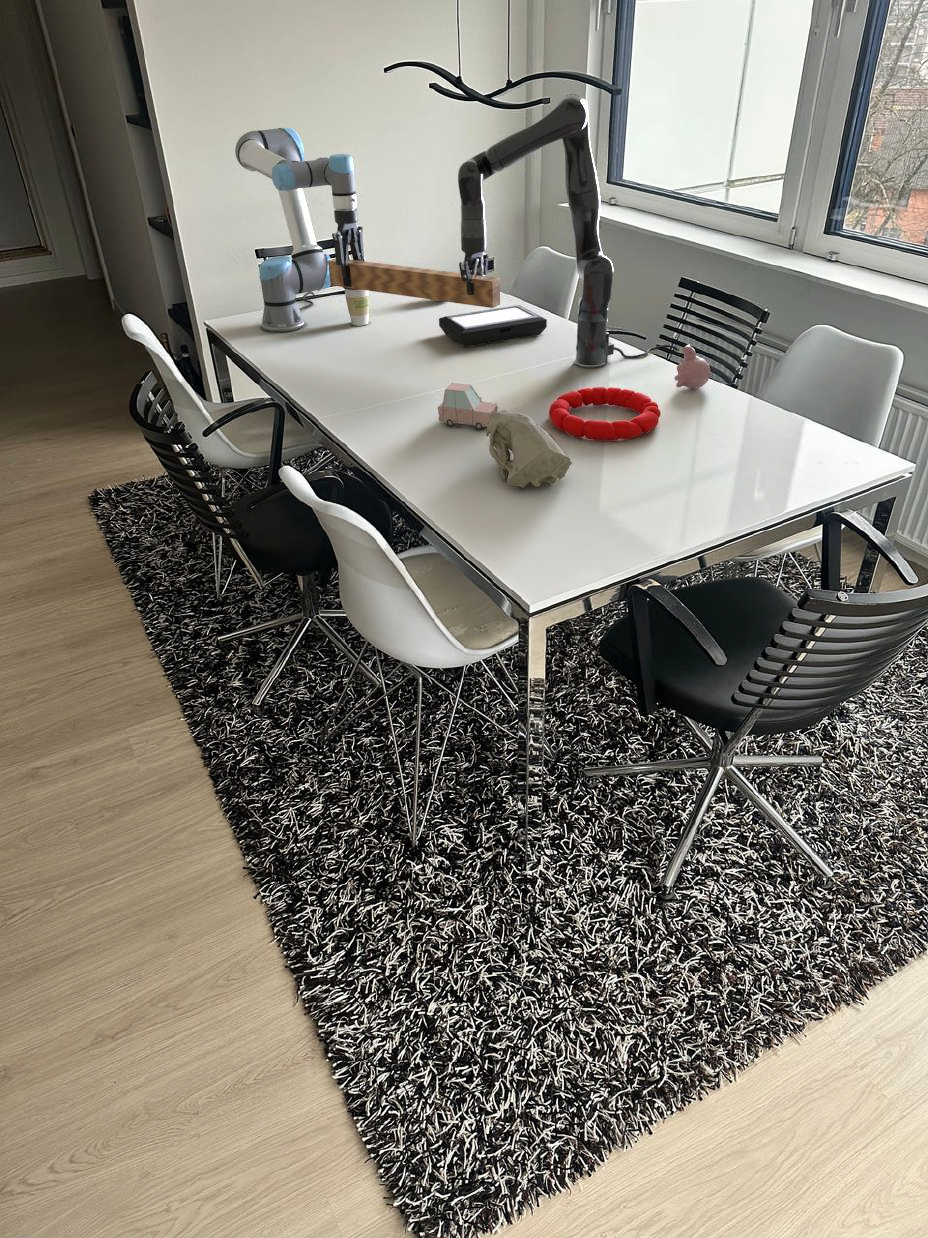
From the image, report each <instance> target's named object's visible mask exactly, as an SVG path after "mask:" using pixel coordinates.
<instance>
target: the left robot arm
mask: <svg viewBox="0 0 928 1238" xmlns="http://www.w3.org/2000/svg"><path fill="white" fill-rule="evenodd" d="M234 153H235V157H236V160H237V162H238V163H239V165H240V166H241V167H243V168H244V169H245V170H247V171H249V172H257V173H259V174H262V175H263V176H265V177H267V178H269V179H271V180H272V184H273V186H274V187H275V189H276V190H277V191H278V194H279V199H280V202H281V206H282V210H283V214H284V218H285V222H286V226H287V229H288V233H289V236H290V237H289V238H290V241H291V245H292V249H293V250H292V253H291V254H290V256H288V255H280V256H273V257H270V258H266V259H265V260H263V261H262V262H261V263H260V265H259V266H258V270H259V271H258V273H259V281H260V287H261V292H262V299H263V313H262V319H261V326H262V330H264V331H265V332H271V333H286V332H293V331H296V330H297V331H298V330H300V329H302V328H304V326H305V319H304V317H303V314H302V312H301V311H303V310H305V309H307V308H310V307H312V306H313V305H314V302H313V301H312V300H309V299H306V297H307V296H308V295H312V296H315V293H314V292H316V291H317V292H320V291H322V290H326V289H328V288H330V287H331V283H330V275H329V266H328V261H329V260H332V259H331V257H330V255H329V254H327V253H325V252H324V249H323V248H322V246H319V244H318V243H317V239H316V235H315V232H314V227H313V224H312V219H311V215H310V212H309V206H308V204H307V199H306V196H305V192H304V189H307V188H308V189H309V188H315V187H322V186H323V187H324V186H331V195H332V196H331V197H332V208H333V209H334V210H333V216H334V222H335V223H336V224H337V228H336V230H337V231H335V233H332V234H331V238H332V240H333V246H334V256H335V258H336V264H337V265H339V266H341V269H342V276H343V283H344V286H347V287H351V286H352V285H351V275H350V266H348V259H349V249H350V253H351V257H352V260H357V261H364V260H363V259H365V251H364V238H363V237H364V236H363V231H364V227H363V226H361V225H360V226H358V224H357V223H358V221H359V213H358V209H357V208H358V203H357V192H356V189H357V188H356V176H355V166H354V158H353V157H352V155H351V154H347V153H337V154H335V153H334V154H331V155H330V156H329V157H318V158H316V159H312V160H305V154H304V153H305V148H304V145H303V142H302V140H301V137H300V136H299V134H298V133H297V132H296V130H294V129H293V128H291V127H277V128H270V129H262V130H261V129H259V130H251V131H248V132H246V133H244V134H243V135H241V136H240V137H239V139H238V140H237V142H236V144H235V148H234ZM300 294H303V296H302V298H301V300H302V301H303V302H305V303H309V304H307V305H304V306H302V307H299V306H298V305H299V304H298V303H297V295H300Z"/></svg>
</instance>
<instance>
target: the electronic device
mask: <svg viewBox="0 0 928 1238" xmlns="http://www.w3.org/2000/svg"><path fill="white" fill-rule="evenodd" d="M438 326H439V328H440V329H441V330H442V332H443V333H444V334H445V336H447V337H449V338H450V339H452V340H453V341H455V342H456V343H458V344H460V345H461V346H462V347H464V348H468V347H474V346H480V345H486V344H493V343H498V342H504V341H511V340H516V339H522V338H528V337H534V336H540V335H542V333H544V331H545V330H546V329H547V327H548V319H546V318H544V317H543V316H540V315H539V314H537V313H535V312H533V311H531V310H529V309H527V308H526V307H524V306H522V305H519V304H516V305H511V306H503V307H498V308H496V307H495V308H489V309H485V310H478V311H472V312H466V313H459V314H453V315H446V316H443V317H439V318H438Z"/></svg>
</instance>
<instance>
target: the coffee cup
mask: <svg viewBox="0 0 928 1238" xmlns="http://www.w3.org/2000/svg"><path fill="white" fill-rule="evenodd" d="M342 288H343V290H344V297H345V301H346V305H347V310H348V314H349V318H350V323H351V325H353V326H357V327H359V326H365V325H368V324H369V317H370V316H369V313H370V291H367V290H360V289H353V288H345V287H342Z"/></svg>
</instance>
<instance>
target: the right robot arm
mask: <svg viewBox="0 0 928 1238" xmlns="http://www.w3.org/2000/svg"><path fill="white" fill-rule="evenodd" d="M589 114H590V113H589V105H588V102H587V101H586V99H585V98H584V97H583V96H582V95H580V94H579V93H575V92H570V93H567V94H565V95H564V96H562V97H561V98H560V99H559V101H558V102H557V104H556V107H554V109H552V110H551V111H550V112H549V113H548V114H546V115H545V116H544V117H543V118H541V119H540V120H538V121H537V122H535V123H533V124H532V125H530V126H527V127H525V128H523V129H521V130H518V131H516V132H514V133H512V134H510V135H508V136H506V137H504V138H503V139H500V140H499V141H497V142H496V143H494V144H492V145H491V146H489V147H488V148H487V149H486V150H484V151H482V152H479V153H478V154H476V155H474V156H472V157H471V158H468V159H467V160H466V161H463V163H462V164H461V165H460V166H459V168H458V173H457V184H458V191H459V197H460V246H461V252H463V253H464V259H463V261H460V262H459V263H458V267H459V273H461V278H462V281H464V282H466V286H467V295H474V283H473V282H474V276H475V275H480V276H487V274H488V267H489V258H490V255H489V254H488V253H484V252H486V250H487V224H486V206H485V205H486V203H485V199H484V197H483V188H482V187H483V186H482V183H483V182H485V180H487V179H489V178H490V177H492V176H494V175H495V174H496V173H500V172H502V171H504V170H506V169H508V168H510V167H511V166H513V165H515V164H516V163H518V162H520V161H522V160H523V159H525V158H527V157H528V156H529V155H531V154H533V153H534V152H536V151H539V150H540V149H542V148H544V147H546V146H548V145H550V144H552V143H554V142H557V141H560V140H562V145H563V149H564V151H563V152H564V182H565V193H566V198H567V199H566V200H567V205H568V211H569V217H570V222H571V227H572V232H573V236H574V237H573V238H574V247H575V264H576V272H577V275H578V277H579V279H580V280H581V281H582V294H581V296H580V297H579V298H578V301H577V302H578V303H577V324H576V325H577V327H576V345H575V365H576V366H578V367H582V368H587V369H588V368H589V369H591V368H592V369H594V368H599V367H603V366H604V365H605V364H608V362H609V361H608V358H609V356H612V355H614V353H615V351H617V352H619V354H620V355H621V356H622V357H623V358H624V359H637V358H641V357H645V356H647V355H648V354H649V353H650V352H651V351H656V350H659V349H665V348H668V349H669V348H671V349H673V350H675V351H676V352H679V351H680V349H679V348H678V347H677V346H675V345H671V344H662V345H658V346H654V347H649V348H647V350H646V351H645V352H644V353H640V354H635V355H627V354H625V353H624V351H623V350H622V349H621V348H619V347H617V346H615V344H614V343H612V342H610V333H609V332H608V315H609V304H610V301H611V298H612V293H613V283H614V282H613V281H614V266H613V263H612V261H611V259H610V258H608V257H607V256H606V255H604V254H603V251H602V247H601V242H600V238H599V237H600V236H599V222H600V215H601V214H600V213H601V195H600V187H599V181H598V176H597V170H596V166H595V161H594V157H593V154H592V147H591V141H590V140H591V139H590V127H589V126H590V123H589V122H590V121H589V120H590V119H589ZM470 274H471V278H470ZM465 275H466V276H465Z"/></svg>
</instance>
